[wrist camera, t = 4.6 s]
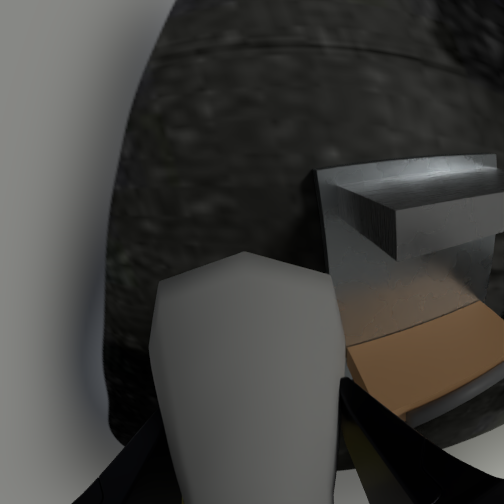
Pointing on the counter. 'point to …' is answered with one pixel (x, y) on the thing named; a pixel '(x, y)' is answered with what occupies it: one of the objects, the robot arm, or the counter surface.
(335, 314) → the flask
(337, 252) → the vise base
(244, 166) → the counter surface
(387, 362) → the block
